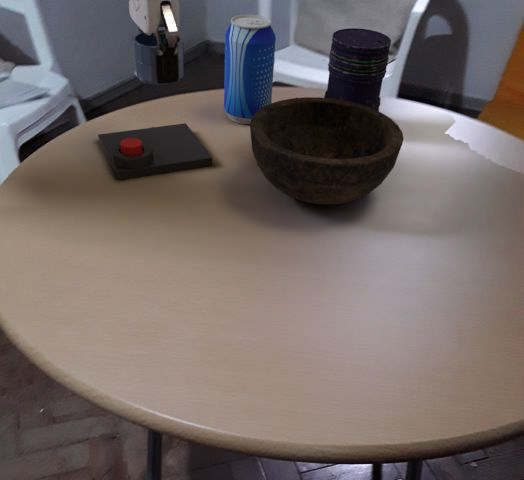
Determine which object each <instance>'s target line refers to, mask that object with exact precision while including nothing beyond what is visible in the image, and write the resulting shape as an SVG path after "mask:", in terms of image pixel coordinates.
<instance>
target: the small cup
mask: <svg viewBox="0 0 524 480" xmlns="http://www.w3.org/2000/svg"><path fill="white" fill-rule="evenodd" d="M131 37H132V38H131V49H132V50H131V51H132V61H133V62H132V63H133V73H134V75H135V77H136V78H138V79H139V81H141V83H144V84H147V85H152V86H167V85H173V84H176V83H178V82H180V80H181V79H182V78H183V77H184V76H185V47H184V45H185V44H184V37H183V36H181V34H178V38H177V41H178V42H177V43H178V45H177V49H178V81H177V82H172V83H163V84H159V83H158V82H157V80H156V65H155V54H157V49H156V44H155V38H154V33H151V35H147V34H145V33H144V32H141V33H139V32H138V33H135V34H134V35H132V36H131ZM160 39H161V45H162V42H163V39H166V36H164V37H160Z"/></svg>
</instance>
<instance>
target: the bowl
mask: <svg viewBox="0 0 524 480" xmlns="http://www.w3.org/2000/svg"><path fill="white" fill-rule="evenodd" d="M249 132H250V141H251V142H250V143H251V151H252V154H253V157H254V159H255V162H256V164H257V166H258V168H259V170H260V171H261V173H262V174H263V175H264V177H265V178H266V180H267V181H268V183H269V184H271V185H272V186H273V187H274V188H276V189H277V190H279V191H280V192H282V193H283V194H285V195H287V196H289V197H290V198H293V199H295V200H298V201H301V202H304V203H310V204H315V205H340V204H345V203H350V202H352V201H355V200H359V199H361V198H363V197H365V196H367V195H368V194H370V193H371V192H373V191H374V190H375V189H377V188H378V187H380V185H381V184H382V183H383V182H384V181H385V180H386V179H387V177H388V176H389V174H390V173H391V172H392V170H393V169H394V168H395V165H396V162H397V160H398V157H399V155H400V151H401V150H402V147H403V142H404V133H403V131H402V129H401V128H400V126H399V124H398V123H396V122H395V120H393V119H392V118H391V117H389V116H387V115H386V114H385V113H383V112H381V111H380V110H379V111H377V110H375V109H372V108H370V107H367V106H364V105H361V104H358V103H354V102H350V101H345V100H339V99H332V98H324V97H319V96H318V97H315V96H312V97H311V96H310V97H309V96H306V97H293V98H287V99H281V100H278V101H275V102H271V104H269V105H267V106H265V107H263V108H261V109H260V110H259V111H257V112H256V113H255V114H254V116H253V117H252V119H251V122H250V124H249Z"/></svg>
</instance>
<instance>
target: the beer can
mask: <svg viewBox="0 0 524 480" xmlns="http://www.w3.org/2000/svg"><path fill="white" fill-rule="evenodd" d="M276 38H277V37H276V33H275V32H274V29H273V27H272V21H271V20H270V19H269V18H267V17H265V16H262V15H257V14H237V15H235V16H233V17H231V19H230V24H229V26H228V28H227V29H226V31H225V34H224V89H223V91H224V93H223V110H224V112H225V113H226V114H227V117H228V118H229V120H231V121H232V122H235V123H237V124H241V125H250V122H251V119H252V117H253V116H254V114H255V113H256V112H257V111H259V110H260V109H261V108H263V107H265V106H267V105H269V104H271V103H272V99H273V97H272V96H273V86H274V85H273V83H274V71H275V70H274V69H275V54H276V40H277V39H276Z"/></svg>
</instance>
